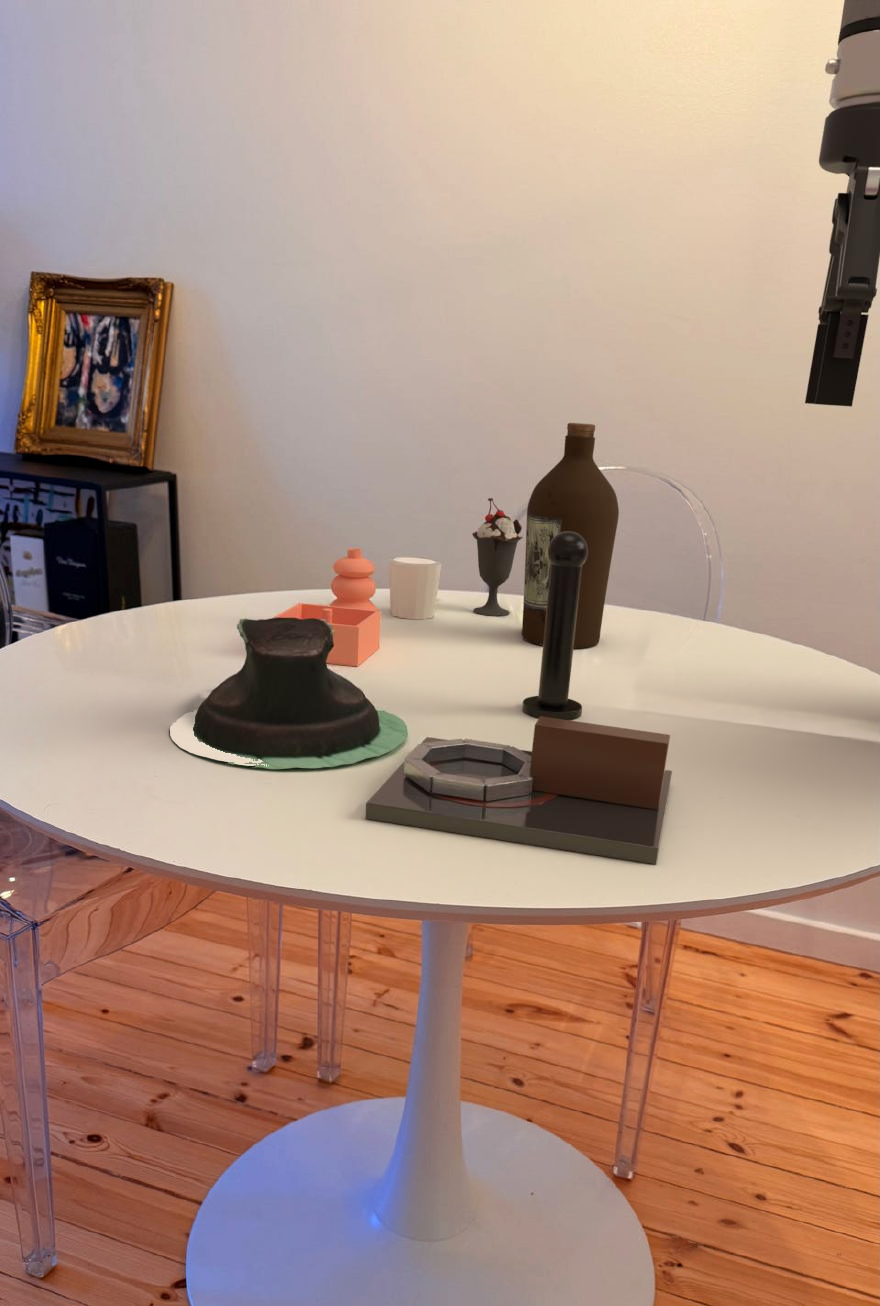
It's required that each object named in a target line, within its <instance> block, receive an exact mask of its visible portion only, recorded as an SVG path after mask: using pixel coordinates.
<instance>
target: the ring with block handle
mask: <svg viewBox="0 0 880 1306" xmlns="http://www.w3.org/2000/svg"><path fill="white" fill-rule="evenodd" d="M670 739H671V734H668V733H667V734H666V733H660V732H652V731H647V730H639V729H633V728H625V727H619V726H610V725H605V724H597V723H590V722H584V721H577V720H563V719H556V718H549V717H542V716H540V717H539V718H538V719H537V720H536V722H535V724H534V729H533V737H532V746H531V747H532V749H531V751H532V756H530V755H528V754H526V753H524V752H523V751H521V750H522V749H519V748H517V747H516V746H513V745H512V746H511V745H509V744H502V743H498V742H497V743H496V742H490V741H483V740H476V739H470V738H464V739H462V738H455V739H454V738H453V739H445V741H437V742H428V743H422V742H421V743H418V744H417V745H415V747H414V748H413V749H412V750H411V751H410V752H409V753H408V754H407V756H406V757H404V761H405V763H404V775H405V776H407V777H408V778H410V779H411V780H412V781H414V782H415V783H417V784H418V785H420V786H421V787H422V788H424V789H425V790H427V791H428V792H432V793H436V794H442V795H448V796H454V797H460V798H467V799H473V800H479V801H483V800H485V801H491V800H498V799H504V798H511V797H517V796H524V795H529V793H532V791H533V790H534V791H541V792H547V793H553V794H560V795H566V796H572V797H579V798H585V799H591V800H598V801H604V802H610V803H616V804H623V805H629V806H635V807H642V808H648V809H654V810H658V809H659V804H660V799H661V792H662V786H663V779H664V773H665V770H666V765H667V758H668V754H669V753H668V752H669V745H670ZM457 758H470V759H476V760H483V761H489V762H496V763H502V764H503V765H505V766H507V767H509V768H510V769H512V770H514V771H515V772H517V773H519V774H518V775H511V776H504V777H497V778H490V779H483V780H482V779H476V778H469V777H463V776H457V775H450V774H444V773H441V772H440V771H438V770H436V769H435V768H433V767H432V766H430V765H429V764H430V762H434V761H442V760H450V759H457Z"/></svg>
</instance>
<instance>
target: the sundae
mask: <svg viewBox="0 0 880 1306" xmlns="http://www.w3.org/2000/svg"><path fill="white" fill-rule="evenodd" d="M487 501H488V502H489V505H490V506H489V510H488V513H487V514H486V515H485V517H484V520H485V522H483V523H481V525H480V526H479V527H478V529H477V531H474V532H472V534H471V535H472V537H473V539H475V540H476V545H477V563H478V564H477V565H478V572H479V576H480V578H481V580H482V581H483V582H484V583H485V584H486V585H487V586H488V596H487V600H486V602H485V603H484V604H483V606H479V607H475V608H473V610H472V611H473V613H475V614H478V615H481V616H487V617H489V616H490V617H504V616H509V615H510V614H511V611H510V610H508V609H506V608H504V607H501V605H500V604H499V601H498V589H499V587H500V586H502V585H503V584H505V582H506V581H507V580H508V579H509V578H510V576H511V572H512V568H513V563H514V558H515V554H516V550H517V545H518V543H519V541H521V540H522V539H523V538H524V537H523V536H520V535H519V534H520V533H521V532H522V529H523V527H522V525H521V523H520V522H519V520H518V519H517V518H516V519H514V521H512V518H511V517H510V516H507V515H506V514H505V512H504V510H501V509H499V508H498V507H497V505H496V504H495V502H494V498H493V497H489V498H487ZM492 504H493V506H494V508H496V510H497V511H495V513H494V514H491V510H492Z"/></svg>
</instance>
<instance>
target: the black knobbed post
mask: <svg viewBox="0 0 880 1306" xmlns="http://www.w3.org/2000/svg"><path fill="white" fill-rule="evenodd" d="M587 556H588V547H587V544H586V542H585V540H584V538H583V537H582V536H580V535H579V534H578V533H575V532H572V531H565V532H561V533H559V534H557V535H556V536H555V537H554V538H553V539H552V540H551V542H550V544H549V546H548V558H549V561H550V563H551V568H550V579H549V589H548V600H547V610H546V621H545V631H544V642H543V645H542V654H541V663H540V674H539V684H538V695H533V696H529V697H526V698H525V699H523V701H522V705H521V706H522V707H521V709H522V711H523V712H524V713H525V714H526V715H528V716H530V717H533V718H536V719H537V718H538V719H539V717H540V716H542V717H549V718H556V719H563V720H570V721H572V720H575V719H579V718H580V717H581V716H582V713H583V705H582V704H581V703H580V702H579V701H576V700H574V699H571V698H569V693H570V685H571V684H570V683H571V674H572V667H573V666H572V665H573V664H572V663H573V656H574V655H573V654H574V648H573V647H574V637H575V628H576V618H577V609H578V599H579V590H580V581H581V571H582V565H583V564H584V563H585V561H586V559H587Z"/></svg>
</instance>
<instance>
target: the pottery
mask: <svg viewBox="0 0 880 1306" xmlns="http://www.w3.org/2000/svg"><path fill="white" fill-rule="evenodd" d="M362 551H363V549H361V548H353V547H352V548H347V556H345V557H341V558H339V559H337V560H336V561H335V562H334V563H333V566H332V569H333V571H334V573H335V574H337V576H334V578H333V579H332V581H331V584H330V590H331V592H332V594H333V595H334V596H335V597H336V598H335V599H333V600H332V602H330V604H329V605H325V604H315V603H306V602H305V603H304V602H298V603H296V604H295V605H293V606H291V607H289V608H288V609H285V610H284V611H283V612H281V613H278V614H277V615H275V616H273V617H272V618H274V617H275V618H278V617H280V618H298V619H302V620H303V619H309V618H315V619H319V620H323V619H325V620H326V621H327V624H328V625H333V628H332V629H331V631H332V630H333V631H334V633H333V642H334V647H333V648H332V650H331V651H330V652H329V654H328V657H327V660H326V663H327V664H331V665H340V666H349V667H360V665H361V664H363V662H365V661H366V660H368V658H369V657H371V656H372V655H373V654H375V652H376V651H378V650H379V649H380V644H381V643H380V641H381V618H382V617H381V615H382V611H381V610H379V609H378V608H377V606H376V604H375V603H374V602H373V601H371V600H370V599H371V598H372V597H374V595H375V594H376V590H377V586H376V582H375V580H374V579H373V578H372V577H370V576H372V575H373V574H374V573H375V571H376V568H375V564H374V563H373V562H372V561H371V560H369V559H367V558H364V557H362V554H363V553H362Z"/></svg>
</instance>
